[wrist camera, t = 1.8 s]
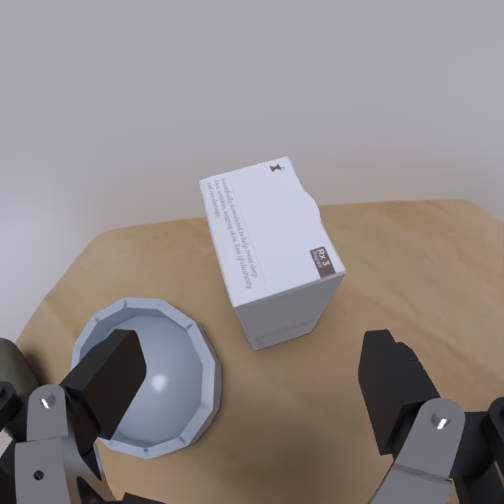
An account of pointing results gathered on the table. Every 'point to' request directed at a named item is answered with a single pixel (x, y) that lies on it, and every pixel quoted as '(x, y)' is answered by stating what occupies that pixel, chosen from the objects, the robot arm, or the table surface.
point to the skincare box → (271, 250)
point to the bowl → (160, 376)
